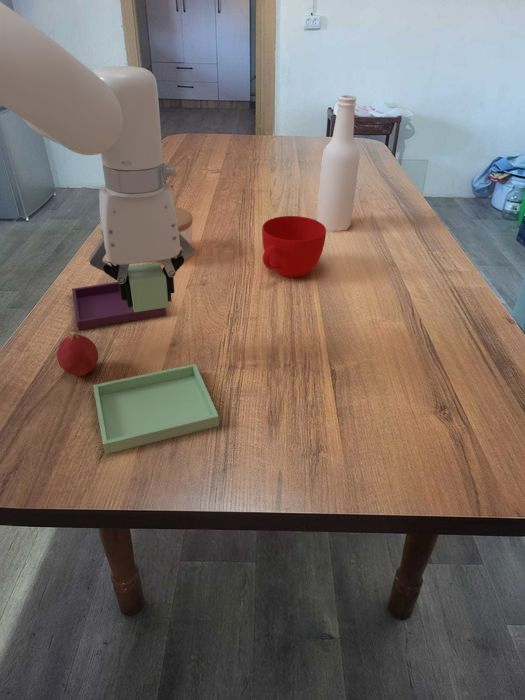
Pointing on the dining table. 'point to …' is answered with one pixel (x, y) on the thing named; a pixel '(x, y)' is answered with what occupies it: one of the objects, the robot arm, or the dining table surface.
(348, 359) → the dining table surface
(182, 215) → the lidded bowl
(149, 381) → the sage tray
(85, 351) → the red pomegranate
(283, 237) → the ceramic cup
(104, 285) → the plum tray
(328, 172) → the alcohol
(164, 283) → the sage block
